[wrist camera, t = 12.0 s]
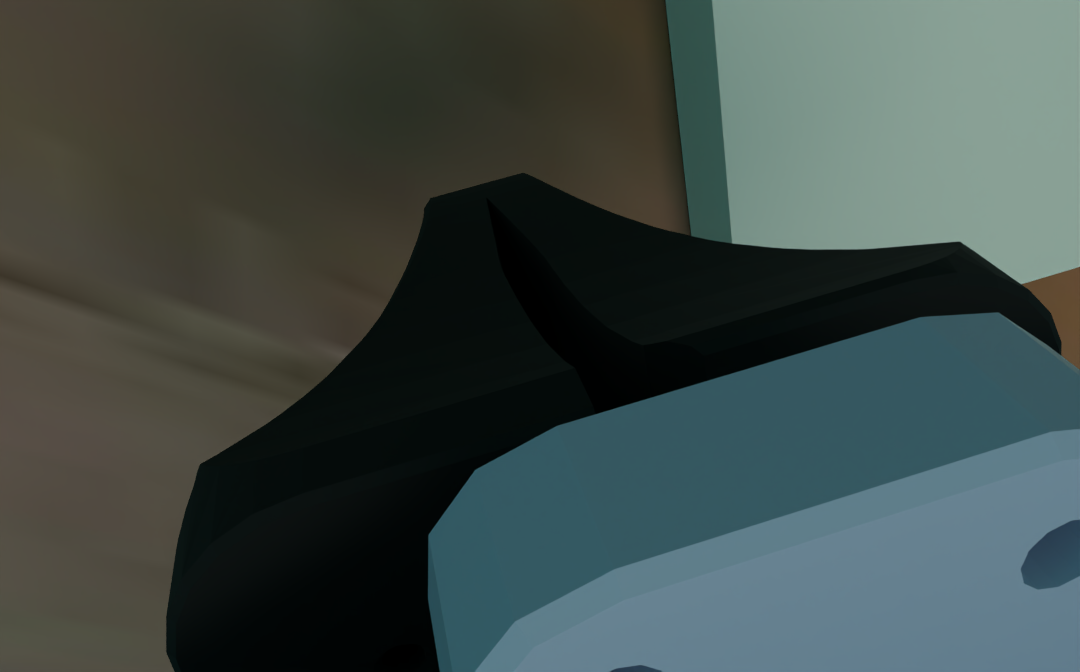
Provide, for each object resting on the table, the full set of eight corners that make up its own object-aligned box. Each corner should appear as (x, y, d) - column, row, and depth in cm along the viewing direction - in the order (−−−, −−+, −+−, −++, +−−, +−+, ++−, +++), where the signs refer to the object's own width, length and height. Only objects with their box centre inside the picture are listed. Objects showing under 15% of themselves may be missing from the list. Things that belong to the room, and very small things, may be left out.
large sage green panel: (1206, 161, 27) (1297, 201, 25) (699, 310, 26) (742, 367, 24) (1345, -439, 20) (1497, -469, 17) (635, -273, 18) (689, -280, 16)
